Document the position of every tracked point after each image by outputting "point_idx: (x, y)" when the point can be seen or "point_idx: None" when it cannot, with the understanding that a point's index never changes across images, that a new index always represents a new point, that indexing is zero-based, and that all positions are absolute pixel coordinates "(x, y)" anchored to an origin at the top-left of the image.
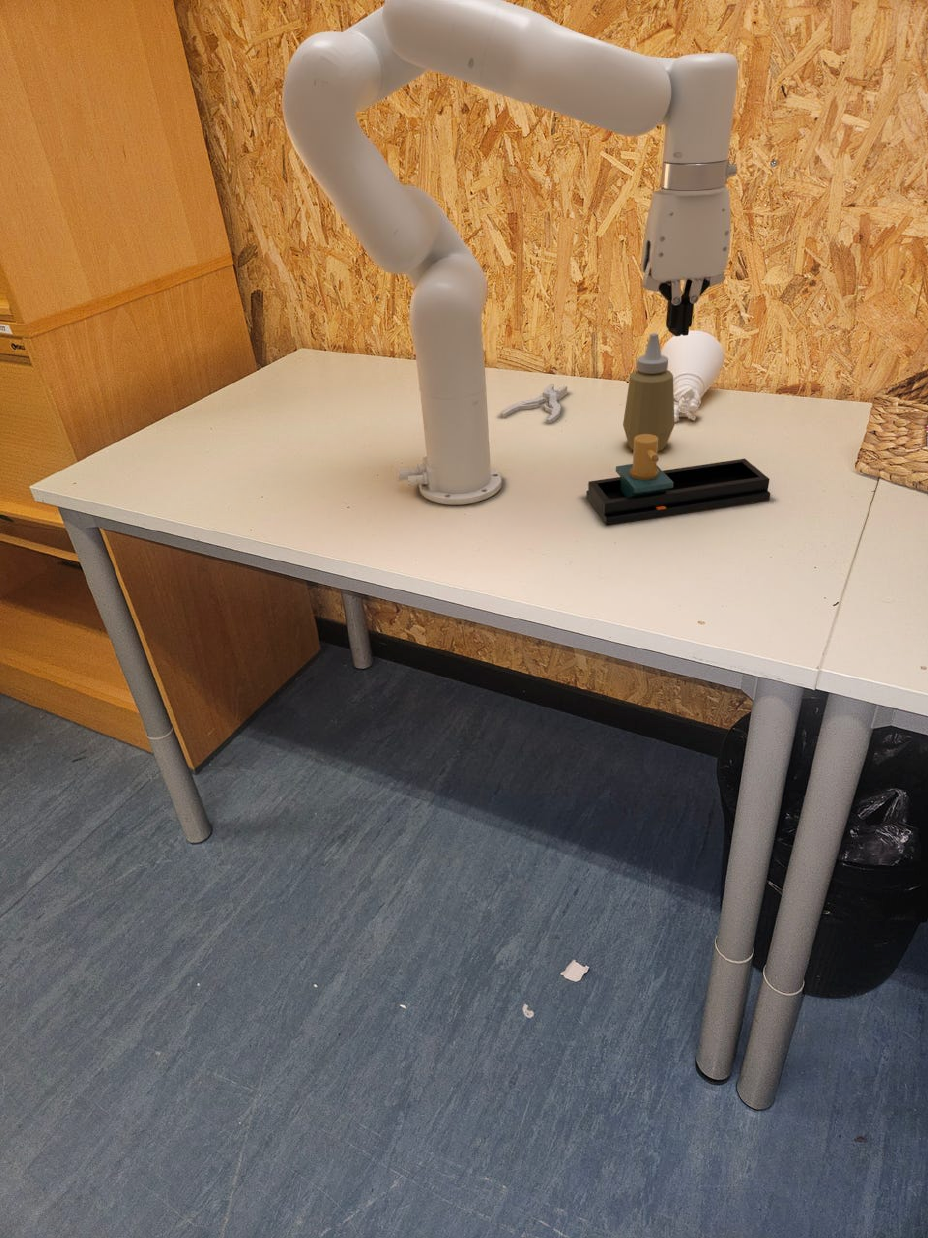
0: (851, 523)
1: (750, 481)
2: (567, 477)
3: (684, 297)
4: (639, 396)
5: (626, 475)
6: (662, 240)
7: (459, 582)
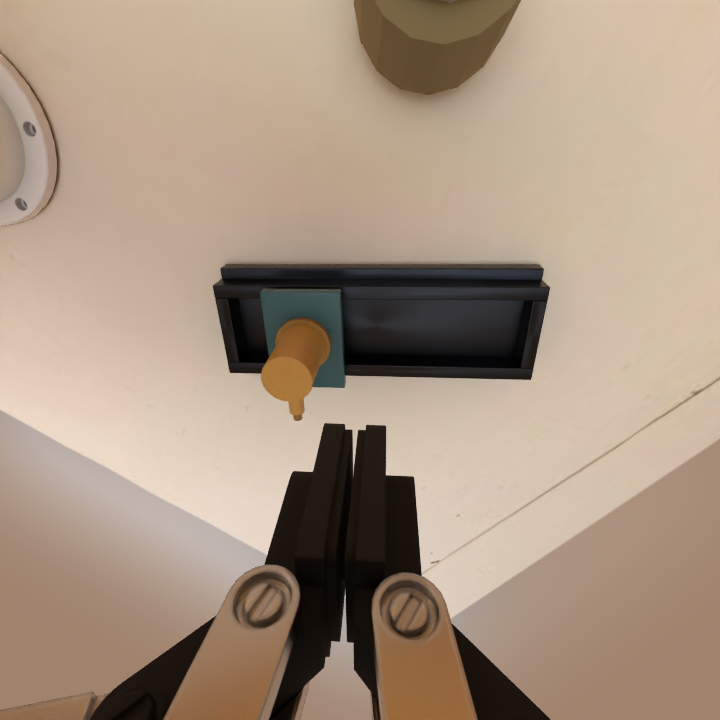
0: (576, 456)
1: (493, 378)
2: (199, 156)
3: (355, 655)
4: (375, 27)
5: (271, 337)
6: None
7: (48, 430)
